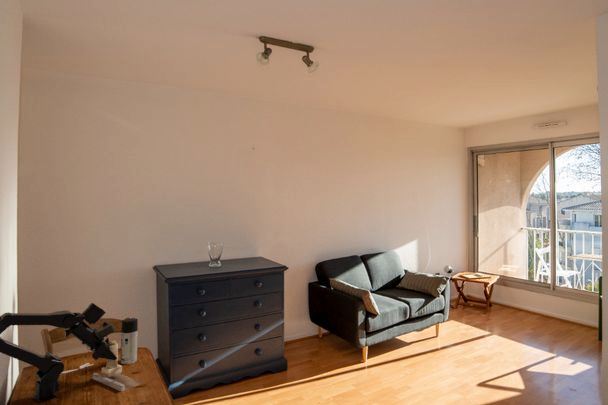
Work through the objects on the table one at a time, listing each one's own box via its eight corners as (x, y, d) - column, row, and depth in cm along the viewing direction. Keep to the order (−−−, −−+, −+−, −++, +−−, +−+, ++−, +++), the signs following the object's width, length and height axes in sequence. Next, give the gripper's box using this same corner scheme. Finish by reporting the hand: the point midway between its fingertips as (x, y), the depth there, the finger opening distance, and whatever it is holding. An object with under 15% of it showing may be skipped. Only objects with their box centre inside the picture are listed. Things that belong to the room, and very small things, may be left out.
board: (121, 395, 145) (121, 386, 145) (92, 382, 156) (92, 373, 156) (142, 386, 152) (143, 377, 153) (114, 374, 163) (114, 366, 163)
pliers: (50, 374, 161) (83, 361, 175) (50, 377, 161) (83, 364, 174) (66, 378, 157) (99, 365, 171) (66, 382, 157) (99, 368, 170)
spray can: (120, 363, 176) (121, 318, 177) (136, 360, 179) (137, 317, 179) (120, 368, 170) (121, 322, 171) (137, 365, 173) (138, 320, 173)
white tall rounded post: (108, 377, 153) (109, 344, 154) (101, 374, 156) (102, 342, 156) (121, 372, 158) (122, 340, 158) (114, 369, 161) (115, 338, 161)
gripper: (102, 323, 147) (133, 348, 152) (101, 312, 164) (129, 334, 169) (78, 347, 143) (111, 372, 148) (79, 333, 160) (109, 356, 165)
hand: (116, 357), depth 158 cm, fingers closed on white tall rounded post, 4 cm apart
